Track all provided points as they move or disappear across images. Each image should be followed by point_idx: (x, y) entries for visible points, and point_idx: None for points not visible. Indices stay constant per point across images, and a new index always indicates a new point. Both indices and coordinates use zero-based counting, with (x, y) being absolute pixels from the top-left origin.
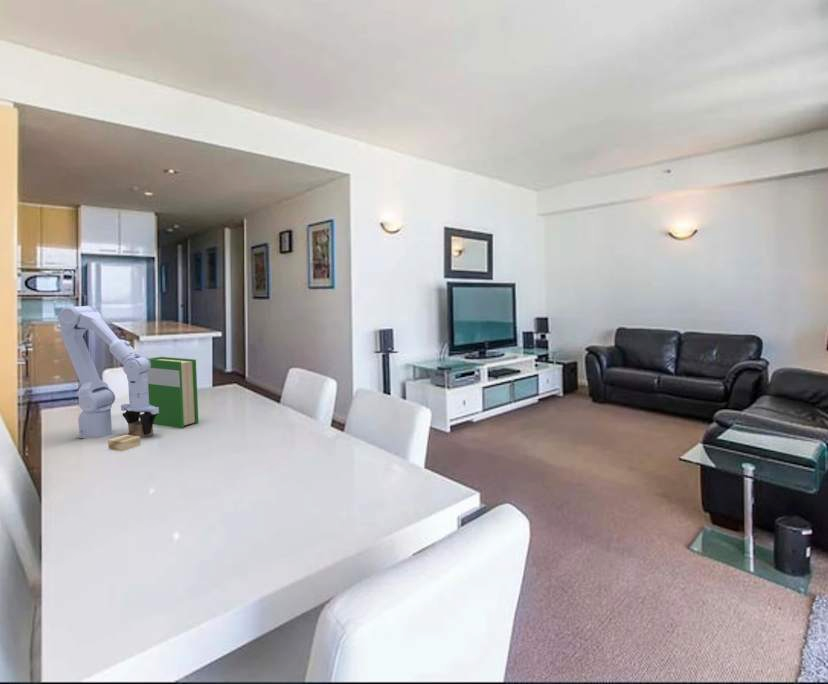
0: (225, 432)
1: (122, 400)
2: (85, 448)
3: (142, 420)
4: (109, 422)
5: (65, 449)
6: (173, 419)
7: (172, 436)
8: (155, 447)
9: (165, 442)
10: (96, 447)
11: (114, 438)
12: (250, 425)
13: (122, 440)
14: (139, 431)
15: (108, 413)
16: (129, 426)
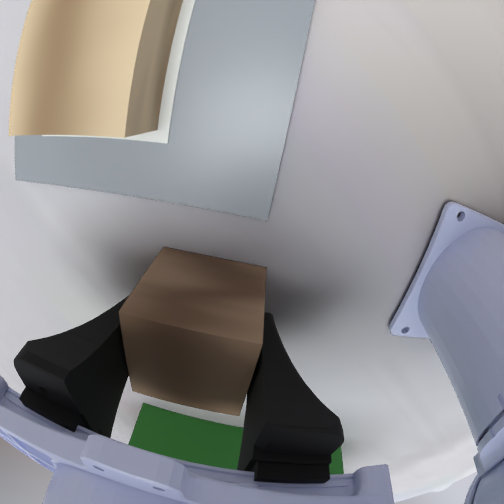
0: (3, 348)
1: (462, 469)
2: (407, 37)
3: (76, 342)
4: (450, 352)
5: (489, 38)
6: (181, 445)
7: (76, 317)
8: (10, 153)
9: (28, 232)
10: (351, 53)
11: (134, 12)
12: (21, 392)
13: (47, 16)
14: (144, 280)
15: (480, 405)
16: (249, 325)
